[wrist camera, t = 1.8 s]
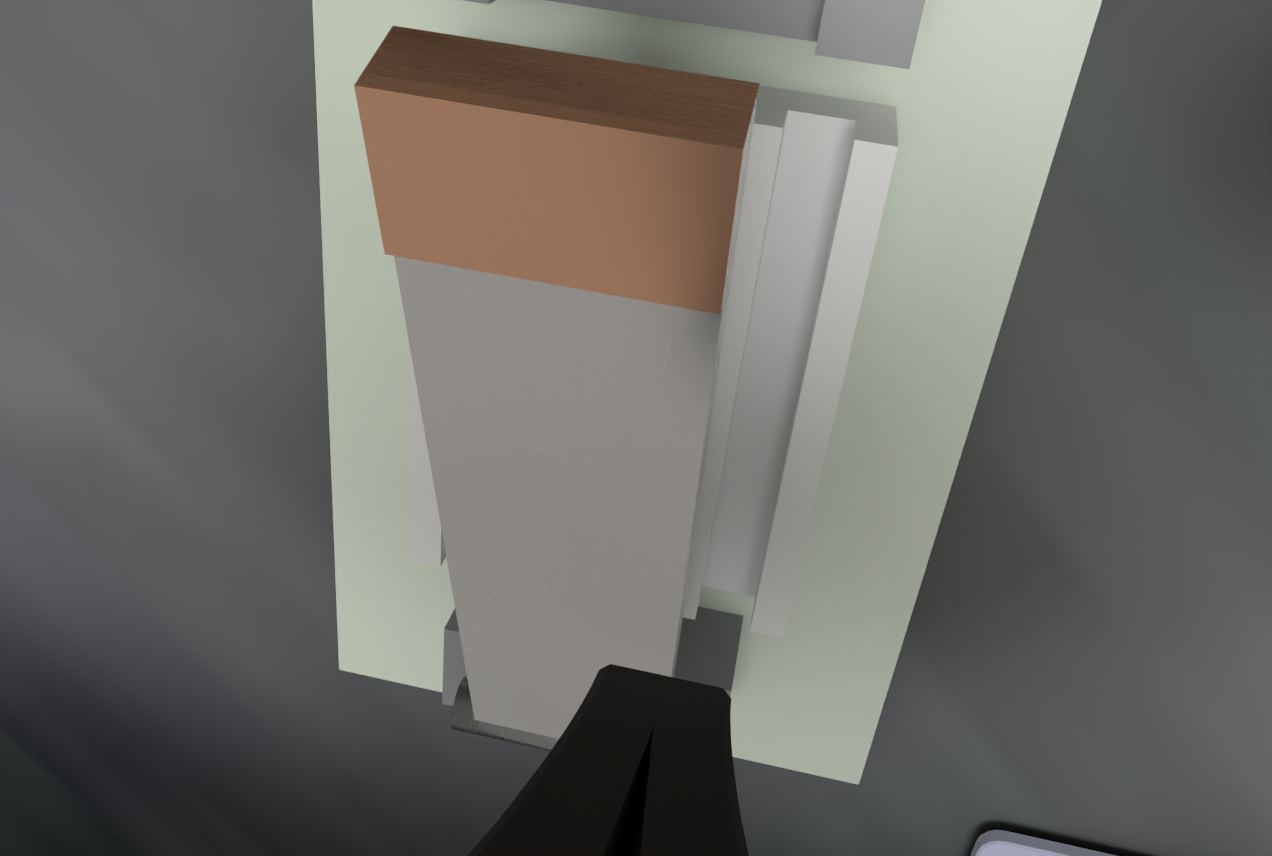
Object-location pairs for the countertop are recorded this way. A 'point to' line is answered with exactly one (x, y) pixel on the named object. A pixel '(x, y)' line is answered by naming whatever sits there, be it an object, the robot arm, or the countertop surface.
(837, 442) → the board
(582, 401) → the strip
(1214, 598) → the countertop surface
